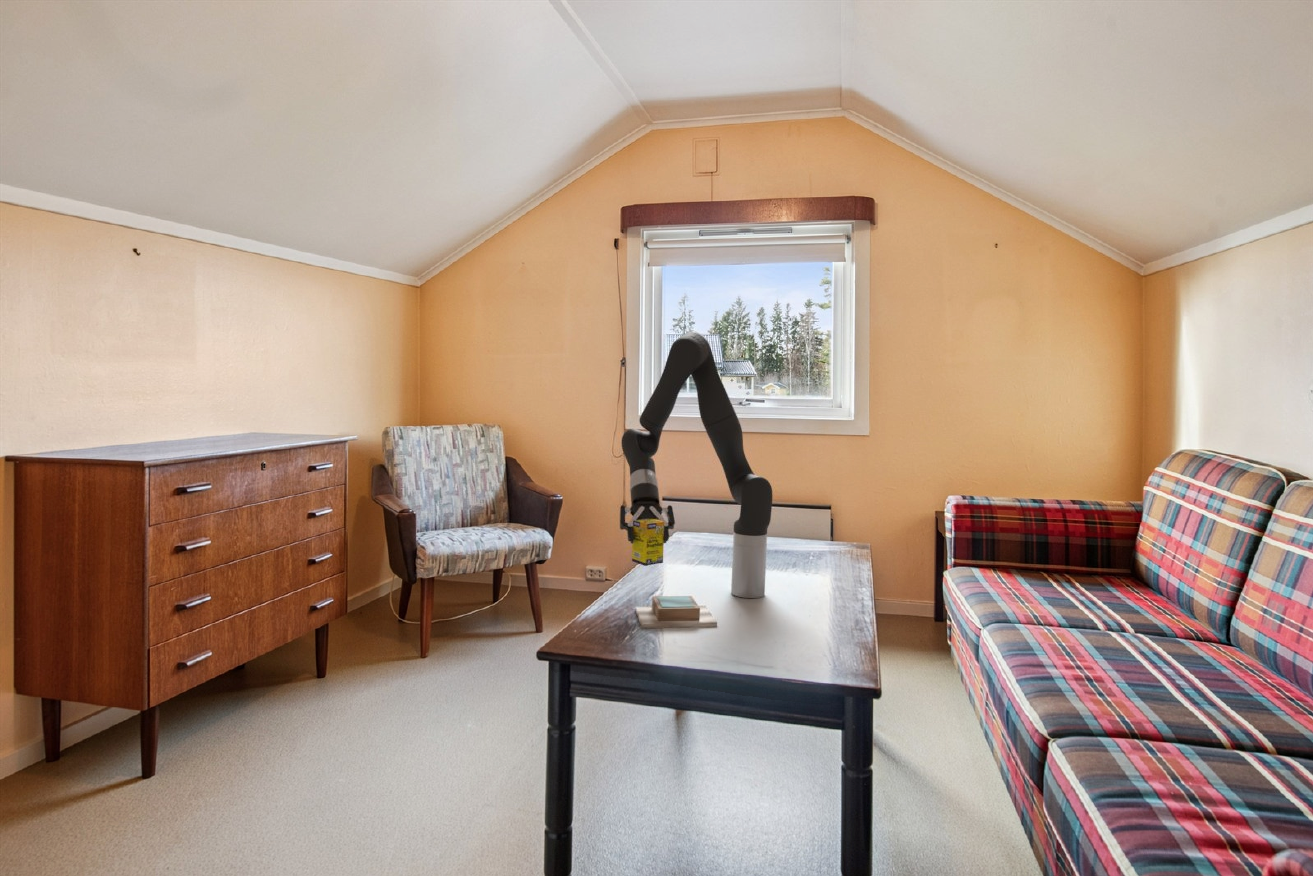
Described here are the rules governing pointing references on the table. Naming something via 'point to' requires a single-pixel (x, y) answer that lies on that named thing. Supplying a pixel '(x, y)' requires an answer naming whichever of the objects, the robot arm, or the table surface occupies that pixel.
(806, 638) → the table surface
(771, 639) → the table surface
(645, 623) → the board
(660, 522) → the supplement box
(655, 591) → the table surface
